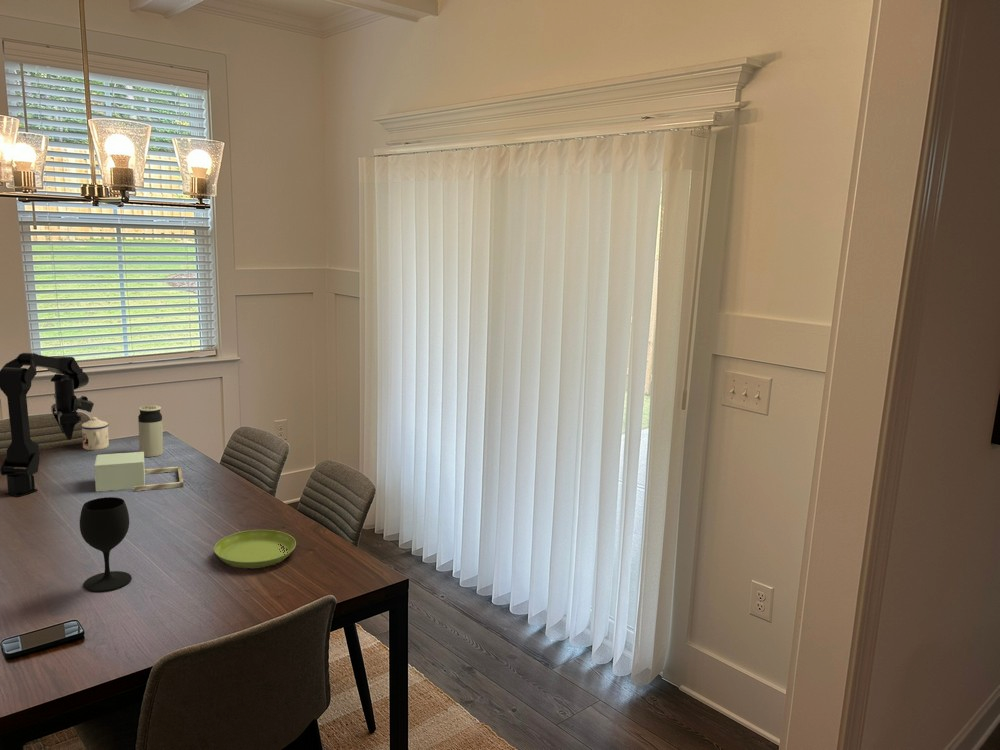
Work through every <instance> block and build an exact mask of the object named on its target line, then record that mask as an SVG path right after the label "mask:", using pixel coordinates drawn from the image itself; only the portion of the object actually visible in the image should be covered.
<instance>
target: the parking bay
mask: <svg viewBox="0 0 1000 750" xmlns="http://www.w3.org/2000/svg"><path fill="white" fill-rule="evenodd" d="M164 472H168V473H178V475H177V476H178V481H177V482H165V483H155V484H154V483H153V484H145V485H141V486H134V489H133V490H134V492H142V491H141V490H145V491H152V489H153V491H154V489H156V490H162V489H163V490H165V488H166V489H177V488H184V479H183V478H184V477H183V471H182V466H181V465H179V466H169V467H159V468H145V475H152V474H151V473H156V474H165V473H164Z"/></svg>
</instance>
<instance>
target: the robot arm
mask: <svg viewBox="0 0 1000 750" xmlns="http://www.w3.org/2000/svg"><path fill="white" fill-rule="evenodd" d="M23 366H24V367H23ZM25 366H26V367H27V366H28V368H26V367H25ZM37 368H43V369H47V371H48V372H51V373H54V376H53V377H52V378H51V379H50V382H53V383H54V394H53V398H54V401H55V403H53V404H52V405H51V406H50V408H51V409H50V412H51V413H52V416H53V418H54V419H55V421H56V423H57V425H58V427H59V429H60V431H61V432H62V434H64V435H65V437H66V439H67V440H68V441H70V440H72V438H73V433H74V429H75V426H76V425H77V424H78V423H80V421H82V417H81V414H80V412H78V410H81V411H85V412H87V413H91V412H92V411H93V408H94V405H95V402H93V401H92V400H89V398H88V397H87V396H84V395H81V396H80V397H77V395H75V390H77V389H80V388H84V387H86V386H87V385H89V382H90V381H89V380H90V378H89V376H88V374H87V373H86V372H84V370H83V368H82V367H81V368H80V365H79V364H78V362H77V361H76V359H75V357H73V356H62V355H60V356H59V355H53V356H49V355H48V356H47V355H41V354H37V353H34V352H33V353H31V352H22V353H20V354H18V355H17V356H16V357H15V358H14V359H12V360H10V361H9V362H7V363H5V364H4V365H3V366H2V368H1V369H0V390H1V392H3V394H4V395H5V396H6V399H7V408H8V418H9V427H10V436H11V443H10V444H9V446H8V447H7V449H6V456H5V457H4V461H3V463H2V465H1V467H0V474H1V476H6V481H7V483H6V484H7V490H6V491H4V494H5V495H10V496H12V497H13V496H14V497H18V498H19V497H23V496H25V495H28V494H32V493H35V492H38V488H36V484H35V474H36V473H38V471H39V466H40V465H39V464H40V460H41V457H40V455H41V453H40V449H39V447H40V445H39V443H38V442H36V441H35V442H34V441H33V440H32V439H31V431H30V429H31V428H30V420H29V411H28V399H27V394H28V392H29V391H30V389H31V387H32V381H33V379H34V378H35V377H36V375H37Z"/></svg>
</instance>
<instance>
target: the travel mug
mask: <svg viewBox="0 0 1000 750" xmlns="http://www.w3.org/2000/svg"><path fill="white" fill-rule="evenodd" d="M161 409H162V407H161V406H160V405H154V404H153V405H151V404H150V405H149V404H148V405H142V406H140V407H138V410H139V414H138V416H137V419H138V421H137V422H138V423H137V424H138V441H139V442H138V443H139V452H144V458H152V457H153V458H154V456H155V457H159V456H161V455H163V454H164V438H163V437H164V435H163V434H164V432H163V415H162V413H161Z"/></svg>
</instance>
